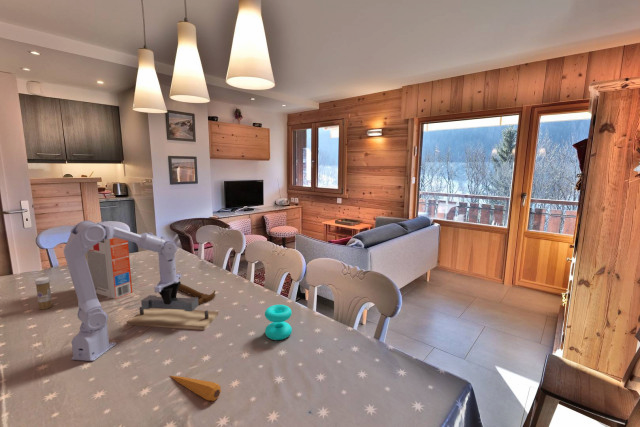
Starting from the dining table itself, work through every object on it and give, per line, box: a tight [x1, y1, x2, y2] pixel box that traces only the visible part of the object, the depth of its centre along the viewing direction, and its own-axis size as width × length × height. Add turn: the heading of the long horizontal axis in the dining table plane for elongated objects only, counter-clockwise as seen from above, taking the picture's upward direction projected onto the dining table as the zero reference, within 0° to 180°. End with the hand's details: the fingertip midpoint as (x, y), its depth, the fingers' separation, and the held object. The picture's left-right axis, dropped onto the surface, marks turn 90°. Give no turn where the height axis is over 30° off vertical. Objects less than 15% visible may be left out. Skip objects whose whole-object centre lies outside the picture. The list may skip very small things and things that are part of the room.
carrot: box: [169, 375, 222, 402], centre depth 83 cm, size 20×4×4 cm, turn 62°
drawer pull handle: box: [140, 294, 200, 311], centre depth 118 cm, size 5×21×4 cm, turn 84°
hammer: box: [178, 283, 216, 306], centre depth 146 cm, size 12×3×30 cm
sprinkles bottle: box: [34, 276, 53, 310], centre depth 129 cm, size 5×5×14 cm
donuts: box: [264, 304, 293, 341], centre depth 110 cm, size 10×10×10 cm
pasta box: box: [85, 237, 133, 300], centre depth 145 cm, size 23×8×30 cm, turn 65°
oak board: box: [126, 306, 219, 331], centre depth 120 cm, size 12×32×4 cm, turn 84°
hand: (170, 301), depth 118 cm, fingers closed on drawer pull handle, 3 cm apart
